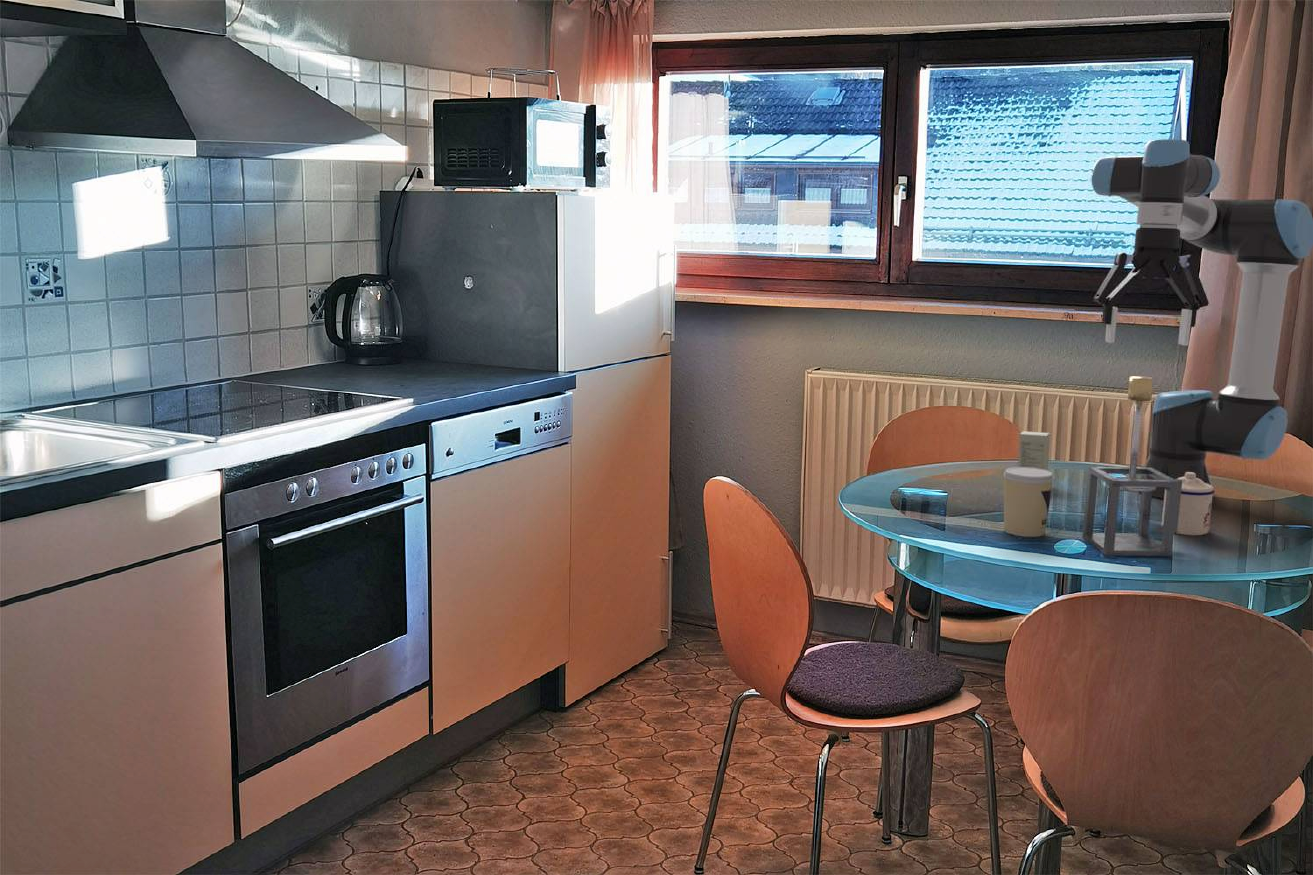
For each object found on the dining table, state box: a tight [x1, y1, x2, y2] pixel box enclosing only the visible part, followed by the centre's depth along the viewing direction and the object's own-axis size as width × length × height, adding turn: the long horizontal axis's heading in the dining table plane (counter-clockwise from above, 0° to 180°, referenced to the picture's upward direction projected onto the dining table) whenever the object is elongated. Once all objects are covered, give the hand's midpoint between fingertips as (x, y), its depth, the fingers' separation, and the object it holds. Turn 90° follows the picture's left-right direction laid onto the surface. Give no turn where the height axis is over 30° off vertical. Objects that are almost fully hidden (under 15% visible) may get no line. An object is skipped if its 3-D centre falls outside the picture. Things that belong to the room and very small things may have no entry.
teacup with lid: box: [1161, 472, 1215, 536], centre depth 237 cm, size 12×9×12 cm
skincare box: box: [1017, 430, 1051, 471], centre depth 272 cm, size 6×4×12 cm
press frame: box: [1082, 466, 1182, 557], centre depth 223 cm, size 15×12×14 cm
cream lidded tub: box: [1003, 466, 1055, 538], centre depth 233 cm, size 9×9×12 cm
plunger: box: [1106, 375, 1156, 493], centre depth 220 cm, size 8×8×20 cm
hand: (1146, 343), depth 221 cm, fingers open, 13 cm apart
